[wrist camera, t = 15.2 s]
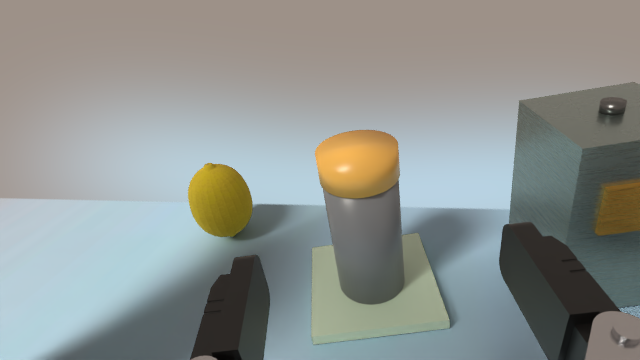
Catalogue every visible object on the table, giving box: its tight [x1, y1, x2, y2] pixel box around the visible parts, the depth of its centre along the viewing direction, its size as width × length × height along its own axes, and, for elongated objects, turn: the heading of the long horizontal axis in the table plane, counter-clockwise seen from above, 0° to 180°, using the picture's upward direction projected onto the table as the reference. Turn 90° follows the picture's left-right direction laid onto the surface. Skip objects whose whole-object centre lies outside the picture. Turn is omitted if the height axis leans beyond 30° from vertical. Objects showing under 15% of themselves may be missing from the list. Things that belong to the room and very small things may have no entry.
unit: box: [509, 82, 640, 308], centre depth 25 cm, size 7×8×13 cm
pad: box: [311, 233, 450, 345], centre depth 30 cm, size 9×9×1 cm
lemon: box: [188, 163, 253, 237], centre depth 37 cm, size 6×6×8 cm
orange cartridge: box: [315, 130, 405, 305], centre depth 27 cm, size 5×5×11 cm
